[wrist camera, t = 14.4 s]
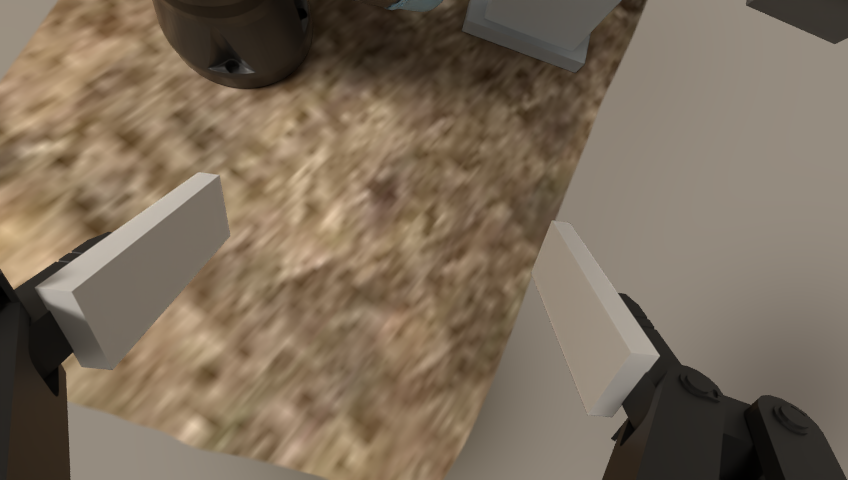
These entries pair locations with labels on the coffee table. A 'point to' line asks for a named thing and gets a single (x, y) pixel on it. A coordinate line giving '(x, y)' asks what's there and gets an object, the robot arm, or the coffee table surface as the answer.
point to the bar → (809, 16)
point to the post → (539, 27)
